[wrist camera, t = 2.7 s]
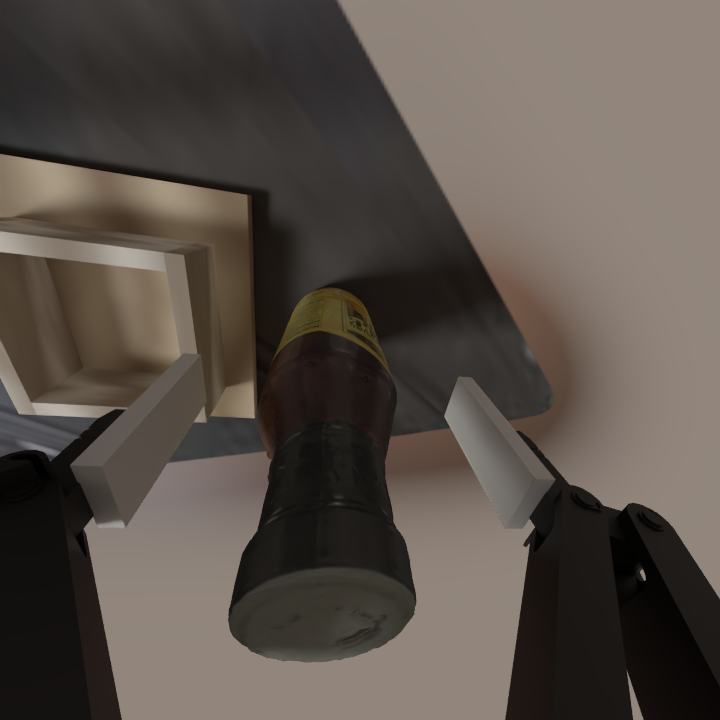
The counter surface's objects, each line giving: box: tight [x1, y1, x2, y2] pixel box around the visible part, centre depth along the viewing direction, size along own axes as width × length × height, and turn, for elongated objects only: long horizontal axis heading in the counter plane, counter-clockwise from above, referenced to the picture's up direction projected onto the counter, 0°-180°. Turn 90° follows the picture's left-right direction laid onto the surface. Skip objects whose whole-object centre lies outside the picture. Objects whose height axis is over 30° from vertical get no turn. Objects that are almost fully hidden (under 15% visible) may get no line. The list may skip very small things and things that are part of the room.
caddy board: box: [0, 154, 257, 423], centre depth 19 cm, size 16×18×6 cm
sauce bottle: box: [228, 287, 416, 662], centre depth 15 cm, size 6×6×20 cm
